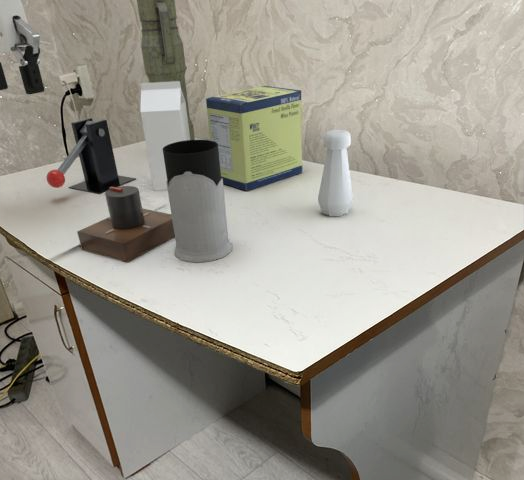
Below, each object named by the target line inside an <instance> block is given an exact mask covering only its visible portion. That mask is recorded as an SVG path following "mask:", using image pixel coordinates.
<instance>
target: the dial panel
mask: <svg viewBox="0 0 524 480" xmlns="http://www.w3.org/2000/svg"><path fill="white" fill-rule="evenodd" d="M142 210H143V215H144V220H145V221H144V223H143V224H142V225H140V226H137V227H134V228H130V229H117V228H114V227H113V226H112V223H111V219H110V216H108V217H106V218H104V219H102V220H100V221H98V222H95V223H93V224H91V225H88V226H86V227H84V228H82V229H79V230H77V231H76V234H77V236H78V240H79V244H80V248H81V250H82V251H85V252H89V253H93V254H96V255H101V256H104V257H107V258H111V259H115V260H118V261H122V262H124V263H125V262H126V263H128V262H131V261H133V260H134V259H136V258H138V257H140V256H142V255H143V254H145V253H148V252H150V251H151V250H152V249H154V248H156V247H158V246H160V245H161V244H164V243H165V242H166V243H167V241H170V240H171V239H174V238H175V234H174V228H173V221H172V215H171V213H167V212H162V211H157V210H152V209H147V208H143V207H142Z"/></svg>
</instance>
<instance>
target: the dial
mask: <svg viewBox="0 0 524 480" xmlns="http://www.w3.org/2000/svg"><path fill="white" fill-rule="evenodd" d="M109 189H110V190H108V191H106V192H104V196H105V200H106V205H107V210H108V214H109V217H110V219H111V223H112V226H113V227H114V228H117V229H130V228H134V227H137V226H140V225H142V224H143V223H144V221H145V220H144V215H143V210H142V208H143V205H142V200H141V194H140V189H139V188H138V187H137V186H133V185H121V186H119V187H109Z"/></svg>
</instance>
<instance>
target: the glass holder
mask: <svg viewBox="0 0 524 480" xmlns="http://www.w3.org/2000/svg"><path fill="white" fill-rule="evenodd" d="M163 155H164V162H165V168H166V175H167V181H166V183H167V189H168V190H167V196H168V201H169V208H170V214H171V215H172V221H173V228H174V234H175V237H174V239H175V248H174V251H173V253H174V256H175V258H177V259H178V260H181V261H182V262H183V261H184V262H188V263H207V262H213V261H216V259H217V260H221V259H223V258H224V257H226V256H228V255H229V254H230V253H232V251H233V244H232V243H231V241H230V238H229V229H228V220H227V219H228V218H227V209H226V200H225V199H226V198H225V189H224V184H223V178H221V170H220V160H219V149H218V143H216V142H214V141H210V139H195V140H186V141H180V142H175V143H172V144H169V145H166V146H165V147H163ZM231 250H232V251H231ZM227 254H228V255H227Z"/></svg>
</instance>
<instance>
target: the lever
mask: <svg viewBox="0 0 524 480" xmlns="http://www.w3.org/2000/svg"><path fill="white" fill-rule="evenodd" d="M92 122H96V120H95V121H94V120H93V121H87V122H86V123H85V124H89V123H92ZM80 132H81V134H82V135H83V136H82V137H81V139H80V140H79V142H78V143H77V144H76V143H75V146H74V147H73V148H72V150H71V151H70V152H69V153H68V155H67V156H66V157H65V159H64V160H63V161H62V163H61V164H60V166H59V167H58V168H57V169H51V170H49V171H48V172H47V174H46V182H47V183H48V185H49V186H50V187H52V188H53V189H54V188H55V189H60V188H62V187H63V186H64V185H65V183H66V177H65V174H66V173H67V171H68V170H69V169H70V168H71V166H72V165H73V163H74V162H75V161H76V159H77V158H78V157H79V154H80V152H81V151H82V150H83V148H84V147H85V146H86V144H87V143H88V141H89V138H88V134H87V130H86V125H84V126H83V127H82V129H81V130H80Z"/></svg>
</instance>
